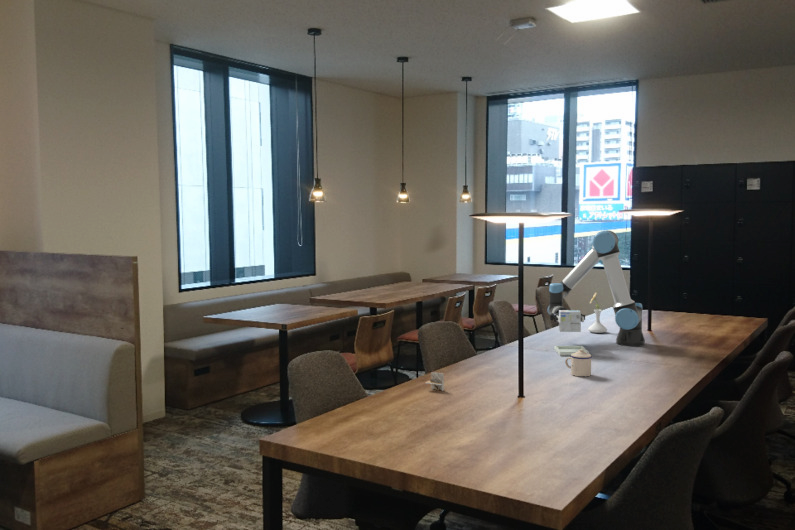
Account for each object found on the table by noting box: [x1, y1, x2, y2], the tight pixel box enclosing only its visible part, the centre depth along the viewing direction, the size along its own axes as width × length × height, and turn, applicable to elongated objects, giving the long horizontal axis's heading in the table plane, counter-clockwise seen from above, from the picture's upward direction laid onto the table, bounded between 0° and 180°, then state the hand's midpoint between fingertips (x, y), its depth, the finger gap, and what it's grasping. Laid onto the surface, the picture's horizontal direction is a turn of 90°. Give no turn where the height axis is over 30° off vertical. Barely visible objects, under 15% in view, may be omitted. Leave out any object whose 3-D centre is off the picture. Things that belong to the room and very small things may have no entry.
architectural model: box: [424, 371, 445, 392], centre depth 280 cm, size 3×7×7 cm, turn 62°
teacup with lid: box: [564, 349, 593, 377], centre depth 306 cm, size 12×9×12 cm
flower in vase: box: [587, 291, 608, 334], centre depth 414 cm, size 13×11×25 cm
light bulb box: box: [558, 309, 582, 333], centre depth 354 cm, size 11×7×11 cm, turn 84°
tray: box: [553, 345, 590, 357], centre depth 355 cm, size 15×17×2 cm
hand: (571, 319), depth 350 cm, fingers closed on light bulb box, 11 cm apart
